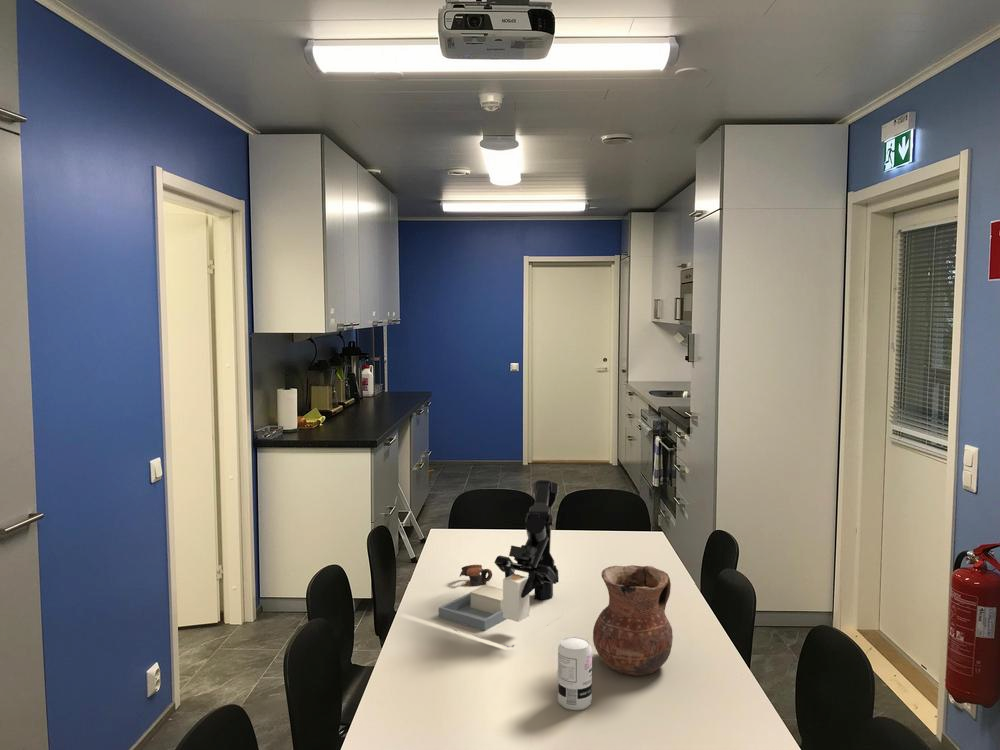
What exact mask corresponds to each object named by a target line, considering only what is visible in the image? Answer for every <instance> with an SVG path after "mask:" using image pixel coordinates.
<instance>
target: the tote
mask: <svg viewBox="0 0 1000 750" xmlns="http://www.w3.org/2000/svg"><path fill="white" fill-rule="evenodd" d="M438 618H441V619H444V620H447V621H450V622H453V623H456V624H461V625H464V626H467V627H470V628H472V629H476V630H479V631H482V632H486V631H488V630H489V629H491V628H494V627H495V626H498V625H499V624H501V623H502V622H504V621H506V620H507V619H506V618H503V610H501V611H499V612H497V613H495V614H493V613H489V612H486V611H482V610H479V609H475V608H472V607H471V594H470V592H469V593H467V594H465V595H462V596H460V597H458V598H455V599H454V600H451V601H450V602H447V603H446V604H443V605H441V606H438Z"/></svg>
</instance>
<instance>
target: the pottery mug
mask: <svg viewBox="0 0 1000 750" xmlns="http://www.w3.org/2000/svg"><path fill="white" fill-rule="evenodd" d="M462 576H463V577H468V578H469V581H467V582H465V586H466V587H472V588H473V587H482V586H483V585H487V584H486V583H487V582H490V580H491V579H492V577H493V572H492V570H491V569H489V568H483V565H482V564H469V565H466V566H461V572H460V573H459V577H460V578H461V577H462Z"/></svg>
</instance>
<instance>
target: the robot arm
mask: <svg viewBox="0 0 1000 750" xmlns="http://www.w3.org/2000/svg"><path fill="white" fill-rule="evenodd" d="M559 487H560V486H559V484H558V483H556V482H554V481H552V480H550V479H538V480H536V482H533V484H532V495H533V496H534V498H535V499H534V504H533V505H531V506H530V507H529V511H528V513H526V516H525V519H524V520H525V521H524V526H525V530H526V536H527V539H526V542H525V544H522V545H521V546H518V545H517V546H516V545H511V546H510V551H509V554H508V556H505V555H498V556H496V558H495V560H494V565H496V566H497V568H498V569H499V570H500V571H501V572H503V573H504V578H506V577H508V576H510V575H513V574H516V571H519V572H523V573H526V574H528V575H527V577H528V580H527V582H526V584H525V586H524V589H523V591H522V594H521V597H522V598H524V597H525V596H526V595H527V594H529V595H530V593H531V592H532V591H533V590H534V600H536V601H540V602H541V601H547V600H552V599H553V596H554V585H556V584H557V583H559V570H558V568H557V565H556V564H555V559H554V557H553V556H552V554H551V539H552V526H553V525H554V517H553V515H552V513H553V512H552V509H553V508H554V506H555V504H556V503H557V498H558V497H559V493H560V492H559V491H560V490H559V489H560V488H559ZM510 557H511V558H513V560H514V561H515V562H513V560H512V559H511V558H510Z"/></svg>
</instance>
